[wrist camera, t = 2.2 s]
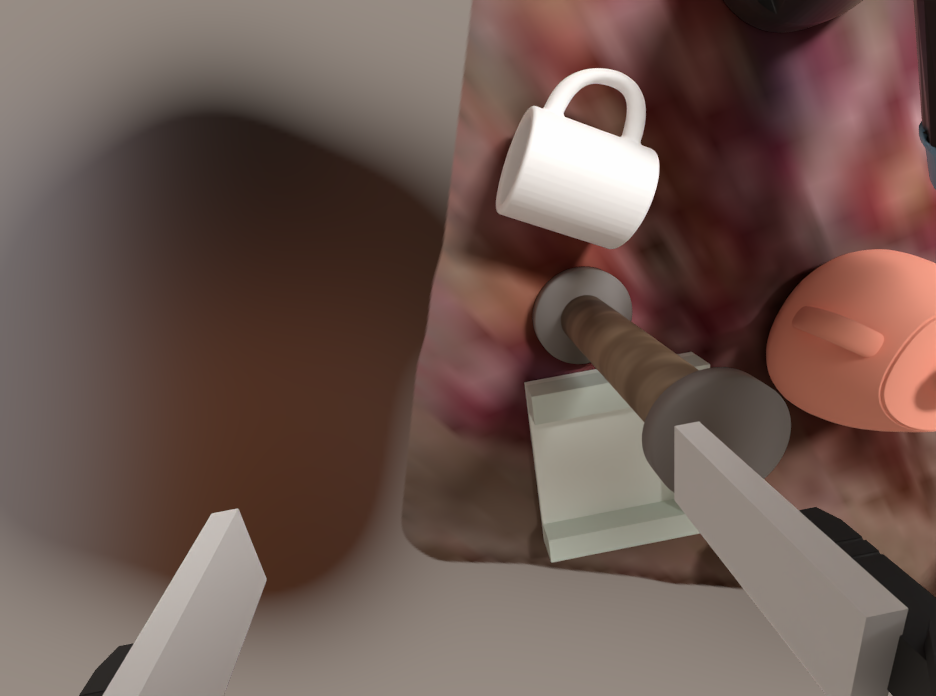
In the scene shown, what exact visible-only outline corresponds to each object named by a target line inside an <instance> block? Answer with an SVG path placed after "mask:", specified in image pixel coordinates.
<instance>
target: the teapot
mask: <svg viewBox="0 0 936 696" xmlns="http://www.w3.org/2000/svg"><path fill="white" fill-rule="evenodd" d="M766 362H767V368H768V373H769V375H770V378H771V380H772V382H773V383H774V385H775V386H776V388H777V389H778V391H779V392H780V393H781V394H782V395H783V396H784V397H785V398H786V399H787V400H788V401H789V402H791V403H792V404H794V405H795V406H797V407H799V408H800V409H802V410H804V411H806V412H807V413H810V414H812V415H815V416H817V417H820V418H822V419H825V420H827V421H830V422H833V423H836V424H840V425H844V426H848V427H853V428H858V429H866V430H876V431H892V432H932V431H936V263H933V262H931V261H929V260H926V259H923V258H920V257H917V256H914V255H911V254H908V253H903V252H898V251H893V250H885V249H873V250H862V251H857V252H852V253H847V254H844V255H842V256H839V257H836V258H834V259H832V260H830V261H828V262H827V263H825V264H823V265H821V266H820V267H818V268H817V269H816V270H814V271H813V272H811V273H810V274H809V275H808V276H806V277H805V278H804V279H803V280H802V281H801V282H800V283H799V284H798V285H797V286H796V287H795V288H794V290H793V291H792V292H791V294H790V295H789V296H788V298H787V299H786V300H785V302H784V304H783V305H782V307H781V308H780V310H779V312H778V314H777V316H776V318H775V320H774V322H773V325H772V327H771V329H770V333H769V336H768V340H767V347H766Z"/></svg>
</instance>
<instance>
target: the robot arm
mask: <svg viewBox="0 0 936 696" xmlns="http://www.w3.org/2000/svg"><path fill="white" fill-rule="evenodd" d="M723 1H724V2H725V3H726V5H727V6H728V7H729V8H730V9H731V11H732V12H733V13H734V14H736V15H737V16H738V17H739V18H740V19H742V20H743V21H745V22H746V23H748V24H749V25H752V26H754V27H756V28H758V29H761V30H765V31H770V32H779V33H783V32H794V31H799V30H803V29H806V28H809V27H812V26H815V25H817V24H820V23H823V22H825V21H828V20H831V19H833V18H835V17H837V16H839V15H841V14H843V13H845V12H846V11H848V10H850V9H851V8H853V7H854V6H856V5H857V4H859V3H860V2H861V1H863V0H723ZM914 13H915V27H916V42H917V56H918V71H919V85H920V99H921V114H922V121H921V123H920V125H919V136H920V140H921V142H922V143H923V145H924V146H925V148H926V155H927V162H928V170H929V177H930V180H931V182H932V184H933V186H934V188H935V189H936V0H914ZM674 500H675V502H676V503H677V504H678V505H679V507H680V508H681V509H682V511H683V512H684V513H685V514H686V516H687V517H688V518H689V520H690V521H691V522H692V523H693V525H694V526H695V527H696V529H697V530H698V531H699V532H700V534H701V535H702V536H703V538H704V539H705V540H706V541H707V543H708V544H709V545H710V547H711V548H712V549H713V550H714V552H715V553H716V554H717V556H718V557H719V558H720V559H721V561H722V562H723V563H724V565H725V566H726V567H727V568H728V570H729V571H730V572H731V574H732V575H733V576H734V577H735V579H736V580H737V581H738V583H739V584H740V585H741V586H742V588H743V589H744V590H745V591H746V593H747V594H748V595H749V597H750V598H751V599H752V601H753V602H754V603H755V604H756V606H757V607H758V608H759V610H760V611H761V612H762V613H763V615H764V616H765V617H766V619H767V620H768V621H769V622H770V624H771V625H772V626H773V627H774V629H775V630H776V631H777V633H778V634H779V635H780V637H781V638H782V639H783V640H784V642H785V643H786V644H787V646H788V647H789V648H790V649H791V651H792V652H793V653H794V655H795V656H796V657H797V658H798V660H799V661H800V662H801V664H802V665H803V666H804V667H805V669H806V670H807V671H808V673H809V674H810V675H811V676H812V677H813V679H814V680H815V682H816V683H817V684H818V685H819V687H820V688H821V689H822V691H823V692H824V693H825V694H826V696H888V692H890V693H891V694H892V695H893V696H936V597H934V596H933V595H932V594H931V593H929V592H928V591H927V590H926V589H925V588H923V587H922V586H921V585H920V584H919V583H917V582H916V581H915V580H914V579H913V578H911V577H910V576H909V575H908V574H906V573H905V572H904V571H903V570H902V569H900V568H899V567H898V566H897V565H896V564H894V563H893V562H892V561H891V560H889V559H888V558H887V557H886V556H885V555H883V554H880V553H879V550H877V549H876V548H875V547H874V546H873V545H871V544H870V543H869V542H868V541H866V540H863V539H862V536H860V535H859V534H858V533H857V532H856V531H854V530H853V529H852V528H851V527H850V526H848V525H847V524H846V523H845V522H843V521H842V520H841V519H839V518H837V517H835V516H833V515H831V514H829V513H827V512H825V511H823V510H821V509H819V508H817V507H814V508H809V509H804V510H798V509H796V508H795V507H794V506H793V505H792V504H791V503H790V502H789V501H787V500H786V499H785V498H784V497H783V496H782V495H781V494H780V493H779V492H777V491H776V490H775V489H774V488H773V487H772V486H771V485H770V484H768V483H767V482H766V481H765V480H764V479H763V478H762V477H761V476H760V475H758V474H757V473H756V472H755V471H754V470H753V469H752V468H751V467H749V466H748V465H747V464H746V463H745V462H744V461H743V460H742V459H741V458H739V457H738V456H737V455H736V454H735V453H734V452H733V451H732V450H730V449H729V448H728V447H727V446H726V445H725V444H724V443H723V442H721V441H720V440H719V439H718V438H717V437H716V436H715V435H714V434H713V433H711V432H710V431H709V430H708V429H707V428H706V427H705V426H704V425H702V424H701V423H700V422H699V421H698V422H693V423H688V424H683V425H677V426H674ZM266 580H267V579H266V576H265V574H264V571H263V569H262V566H261V564H260V561H259V559H258V556H257V554H256V551H255V549H254V547H253V544H252V541H251V539H250V537H249V534H248V532H247V529H246V527H245V524H244V522H243V519H242V517H241V514H240V512H239V509H233V510H228V511H222V512H217V513H212V514H211V516H210V517H209V519H208V521H207V522H206V524H205V526H204V527H203V529H202V531H201V532H200V534H199V536H198V537H197V539H196V541H195V542H194V544H193V546H192V548H191V549H190V551H189V552H188V554H187V556H186V557H185V559H184V561H183V562H182V564H181V566H180V567H179V569H178V571H177V573H176V574H175V576H174V577H173V579H172V581H171V583H170V584H169V586H168V587H167V589H166V591H165V593H164V594H163V596H162V597H161V599H160V601H159V603H158V604H157V606H156V607H155V609H154V611H153V612H152V614H151V616H150V617H149V619H148V621H147V623H146V624H145V626H144V627H143V629H142V631H141V632H140V634H139V636H138V637H137V639H136V641H135V642H134V644H129V645H123V646H119V647H118V648H117V649H116V650H115V651H114V652H113V653H112V654H111V655H110V656H109V657H108V658H107V659H106V660H105V661H104V662H103V663H102V664H101V665H100V666H99V667H98V668H97V669H96V670H95V672H94V673H93V675H92V676H91V678H90V679H89V681H88V683H87V684H86V686H85V687H84V689H83V690H82V692H81V693H80V695H79V696H224V694H225V691H226V689H227V686H228V683H229V680H230V678H231V675H232V672H233V670H234V667H235V664H236V662H237V659H238V656H239V653H240V651H241V648H242V645H243V643H244V640H245V637H246V634H247V632H248V629H249V626H250V623H251V621H252V618H253V616H254V613H255V610H256V607H257V604H258V602H259V599H260V597H261V594H262V591H263V588H264V586H265V583H266Z"/></svg>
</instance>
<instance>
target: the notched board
mask: <svg viewBox="0 0 936 696" xmlns="http://www.w3.org/2000/svg"><path fill="white" fill-rule="evenodd" d="M677 355H678V356H680V357H681V358H683V359H684V360H685V361H687V362H688V363H690V364H691V365H692V366H694V367H695V368H697V369H698V370H703V369H707V368H710V364H709V363H708V362H706V361H705V360H703V359H702V358H700V357H699V356H697V355H696V354H694V353H693V352H687V353H681V354H677ZM524 385H525V393H526V401H527V409H528V417H529V425H530V433H531V441H532V449H533V457H534V465H535V473H536V481H537V489H538V497H539V505H540V513H541V521H542V529H543V538H544V542H545V545H546V548H547V551H548V554H549V557H550V560H551V563H552V562H557V561H562V560H567V559H572V558H577V557H582V556H587V555H593V554H598V553H603V552H608V551H613V550H618V549H623V548H628V547H633V546H638V545H643V544H649V543H654V542H659V541H664V540H669V539H674V538H679V537H684V536H689V535H694V534H700V532H699V531H698V530H697V529H696V527H695V526H694V525H693V523H692V522H691V521H690V520H689V518H688V517H687V516H686V514H685V513H684V512H683V511H682V509H681V508H680V507H679V505H678V504H677V503H676V502H675V500H674V492H672V491H671V490H670V489H669V488H668V487H667V486H666V485H665V484H664V483H663V482H662V480H661V479H660V478H659V476H658V475H657V474H656V473H655V471H654V470H653V469H652V467H651V466H650V465H649V463H648V462H647V460H646V457H645V455H644V452H643V448H642V431H643V426H644V422H643V420H642V419H641V418H640V417H639V416H638V415H637V414H636V413H635V411H634V410H633V409H632V408H631V407H630V406H629V405H628V404H627V402H626V401H625V400H624V399H623V398H622V397H621V396H620V395H619V393H618V392H617V391H616V390H615V389H614V388H613V387H612V386H611V384H610V383H609V382H608V381H607V380H606V379H605V378H604V377H603V375H602V374H601V373H600V372H599V371H598V370H597V369H594V370H588V371H583V372H577V373H572V374H567V375H561V376H556V377H550V378H545V379H539V380H534V381H528V382H524Z"/></svg>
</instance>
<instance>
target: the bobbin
mask: <svg viewBox="0 0 936 696" xmlns="http://www.w3.org/2000/svg"><path fill="white" fill-rule="evenodd" d="M532 318H533V327H534V330H535V333H536V335H537V337H538V339H539V341H540V342H541V344H542V345H543V346H544V348H545V349H546V350H547V351H548V352H549V353H550V354H551V355H552V356H554V357H555V358H557V359H559V360H561V361H563V362H567V363H572V364H586V363H592V364H593V365H594V366H595V368H596V369H597V370H598V371H599V372H600V373H601V374H602V375H603V377H604V378H605V379H606V380H607V381H608V382H609V383H610V384H611V386H612V387H613V388H614V389H615V390H616V391H617V392H618V393H619V395H620V396H621V397H622V398H623V399H624V400H625V401H626V402H627V404H628V405H629V406H630V407H631V408H632V409H633V410H634V411H635V413H636V414H637V415H638V416H639V417H640V418H641V419H642V420H643V422H644V426H643V431H642V448H643V452H644V455H645V457H646V460H647V462H648V463H649V465H650V466H651V467H652V469H653V470H654V471H655V473H656V474H657V475H658V476H659V478H660V479H661V480H662V482H663V483H664V484H665V485H666V486H667V487H668V488H669V489H670V490H671V491H672V492H674V426H677V425H683V424H688V423H693V422H698V421H699V422H700V423H701V424H702V425H704V426H705V427H706V428H707V429H708V430H709V431H710V432H711V433H713V434H714V435H715V436H716V437H717V438H718V439H719V440H720V441H721V442H723V443H724V444H725V445H726V446H727V447H728V448H729V449H730V450H732V451H733V452H734V453H735V454H736V455H737V456H738V457H739V458H741V459H742V460H743V461H744V462H745V463H746V464H747V465H748V466H749V467H751V468H752V469H753V470H754V471H755V472H756V473H757V474H758V475H760V476H761V477H762V478H763V479H764V478H765V477H766V476H768V475H769V473H770V472H771V471H772V470H773V469H774V468H775V467H776V465H777V464H778V463H779V461H780V459H781V458H782V456H783V454H784V452H785V450H786V448H787V445H788V442H789V438H790V432H791V419H790V413H789V410H788V407H787V405H786V403H785V401H784V400H783V399H782V397H781V396H780V395H779V394H778V393H777V392H776V391H775V390H773V389H772V388H770V387H769V386H767V385H766V384H764V383H763V382H761V381H759V380H758V379H756V378H755V377H753V376H751V375H750V374H748V373H746V372H744V371H741V370H738V369H735V368H728V367H714V368H707V369H703V370H698V369H697V368H695V367H694V366H692V365H691V364H690V363H688V362H687V361H685V360H684V359H683V358H681V357H680V356H678V355H677V354H676V353H674V352H673V351H671V350H670V349H669V348H667V347H666V346H664V345H663V344H662V343H660V342H659V341H658V340H656V339H655V338H653V337H652V336H651V335H649V334H648V333H646V332H645V331H644V330H642V329H641V328H639V327H638V326H637V325H635V324H634V323H632V322H631V320H632V303H631V299H630V296H629V294H628V292H627V290H626V288H625V287H624V286H623V284H622V283H621V282H620V281H619V280H618V279H617V278H615V277H614V276H612V275H610V274H609V273H607V272H605V271H603V270H601V269H598V268H594V267H585V266H582V267H574V268H570V269H567V270H565V271H563V272H561V273H559V274H557V275H556V276H554V277H553V278H552V279H550V280H549V281H548V282H547V283H546V284H545V286H544V287H543V288H542V289H541V291H540V292H539V294H538V296H537V298H536V301H535V304H534V308H533V315H532Z"/></svg>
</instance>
